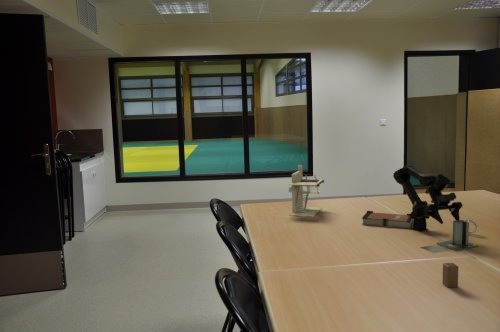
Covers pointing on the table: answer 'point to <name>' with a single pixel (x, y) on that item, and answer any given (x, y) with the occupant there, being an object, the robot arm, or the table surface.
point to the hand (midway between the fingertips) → (450, 222)
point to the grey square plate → (434, 248)
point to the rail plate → (449, 245)
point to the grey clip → (460, 233)
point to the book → (387, 220)
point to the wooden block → (450, 275)
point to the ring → (472, 222)
